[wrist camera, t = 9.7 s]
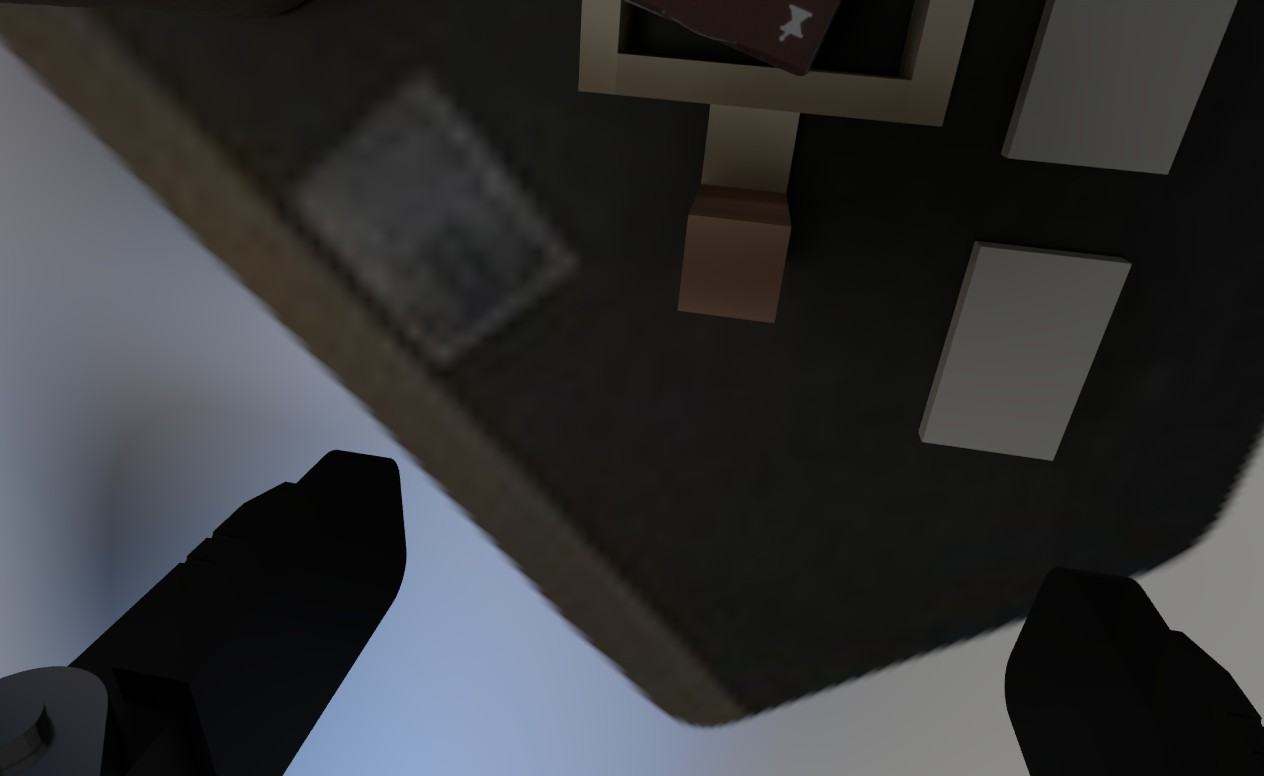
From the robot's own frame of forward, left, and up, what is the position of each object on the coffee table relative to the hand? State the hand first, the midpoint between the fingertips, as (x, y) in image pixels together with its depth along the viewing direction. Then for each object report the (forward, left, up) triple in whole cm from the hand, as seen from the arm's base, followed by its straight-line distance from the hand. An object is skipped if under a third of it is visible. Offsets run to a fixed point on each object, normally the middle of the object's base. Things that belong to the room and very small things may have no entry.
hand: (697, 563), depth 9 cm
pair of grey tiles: (-1, +11, -20) cm, 23 cm away
